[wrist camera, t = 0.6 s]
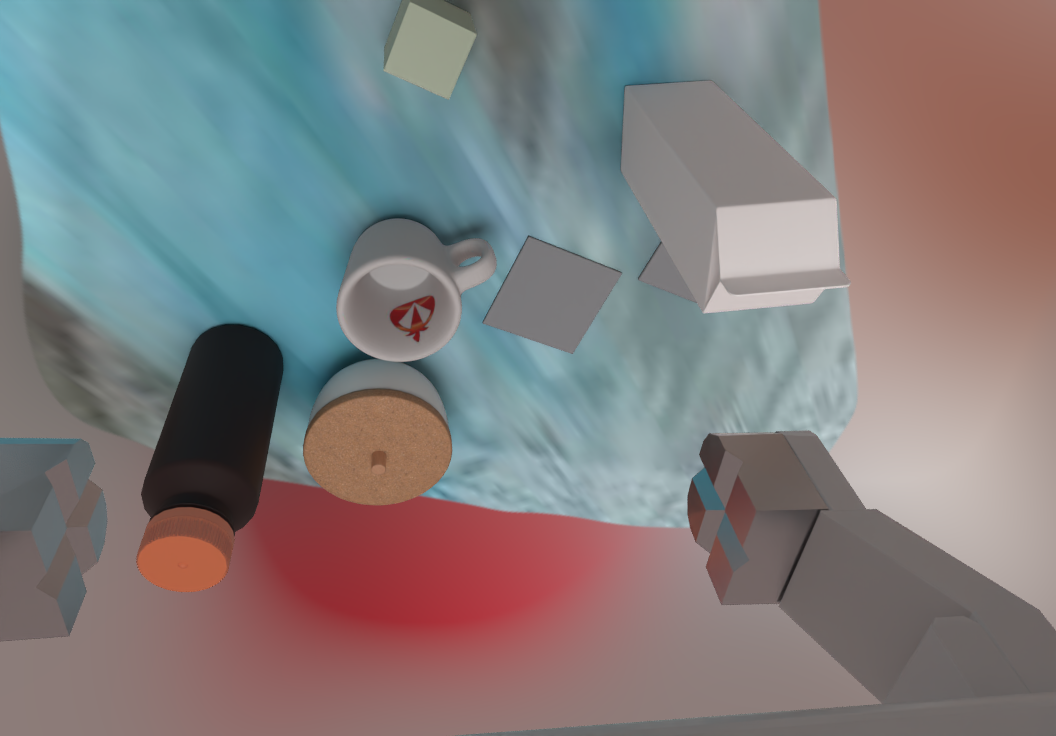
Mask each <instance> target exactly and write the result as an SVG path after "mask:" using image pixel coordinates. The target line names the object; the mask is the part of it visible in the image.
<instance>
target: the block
mask: <svg viewBox="0 0 1056 736" xmlns="http://www.w3.org/2000/svg"><path fill="white" fill-rule="evenodd" d="M476 35H477V33H476V30H475V27H474V24H473V20H472V17H471V14H470V13H468V12H466V11H464V10H462V9H460V8H458V7H456V6H454V5H452V4H450V3H448V2H446V1H444V0H402V2H401V5H400V7H399V10H398V13H397V15H396V18H395V21H394V23H393V26H392V29H391V31H390V34H389V37H388V39H387V42H386V45H385V47H384V71H385V72H387V73H390V74H392V75H394V76H396V77H399V78H401V79H403V80H405V81H408V82H410V83H412V84H414V85H417V86H419V87H421V88H423V89H426V90H428V91H430V92H432V93H435V94H437V95H439V96H441V97H444V98H446V99H448V100H449V98H450V96H451V94H452V91H453V89H454V87H455V84H456V82H457V80H458V77H459V75H460V73H461V70H462V68H463V66H464V63H465V61H466V59H467V56H468V54H469V52H470V49H471V47H472V45H473V42H474V40H475V38H476Z"/></svg>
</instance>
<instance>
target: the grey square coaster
mask: <svg viewBox="0 0 1056 736" xmlns="http://www.w3.org/2000/svg"><path fill="white" fill-rule="evenodd" d="M638 280H640V281H642V282H645V283H647V284H650V285H652V286H655V287H657V288H660V289H663V290H665V291H668V292H670V293H673V294H675V295H678V296H680V297H683V298H685V299H688V300H691V301H693V302H696V300H695V298H694V297H693V295H692V293H691V291H690V290H689V288H688V286H687V284H686V283H685V281H684V279H683V278H682V276H681V274H680V272H679V271H678V269H677V267H676V265H675V264H674V262H673V260H672V259H671V257H670V255H669V253H668V252H667V250H666V248H665V246H664V245H663V243H662V241H661V243H660V244H659V246H658V248H657V249H656V251H655V252H654V254H653V255H652V257H651V259H650V260H649V262H648V263H647V265H646V267H645V268H644V270H643V271H642V273H641V275H640V276H639V278H638ZM696 303H697V302H696Z"/></svg>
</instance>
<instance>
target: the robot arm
mask: <svg viewBox="0 0 1056 736" xmlns="http://www.w3.org/2000/svg"><path fill="white" fill-rule="evenodd" d="M699 455H700V458H701V460H702V462H703V464H704V468H703V469H702V470H701V471H700V472H699V473H697V474H696V475H695V476H694V477H693V478H692V481H691V485H690V488H689V492H688V519H689V524H690V529H691V531H692V534H693V536H694V539H695V542H696V543H697V544H699V545H700V546H701V547H703V548H704V549H705V550H706V551H708V552H709V553H710V556H709V559H708V562H707V565H706V569H707V571H708V574H709V576H710V578H711V581H712V583H713V585H714V588H715V590H716V593H717V595H718V598H719V600H720V603H721V604H722V605H738V604H739V605H740V604H779V607H780V608H781V609H782V610H783V611H784V612H785V613H786V614H787V615H788V616H789V617H790V618H792V620H794V621H795V622H796V623H797V624H798V625H799V626H800V627H801V628H802V629H803V630H804V631H805V632H806V633H807V634H809V635H810V636H811V637H812V638H813V639H814V640H815V641H816V642H817V643H818V644H819V645H820V646H821V647H822V648H823V649H825V650H826V651H827V652H828V653H829V654H830V655H831V656H832V657H833V658H834V659H835V660H836V661H837V662H838V663H840V664H841V665H842V666H843V667H844V668H845V669H846V670H847V671H848V672H849V673H850V674H851V675H852V676H853V677H854V678H856V679H857V680H858V681H859V682H860V683H861V684H862V685H863V686H864V687H865V688H866V689H867V690H868V691H869V692H871V693H872V694H873V695H874V696H875V697H876V698H877V699H878V700H879V701H880V702H881V703H882V704H876V705H863V706H849V707H835V708H822V709H809V710H796V711H795V710H794V711H781V712H768V713H754V714H740V715H726V716H715V717H714V716H713V717H700V718H686V719H673V720H659V721H647V722H634V723H619V724H606V725H592V726H579V727H565V728H552V729H539V730H526V731H511V732H497V733H484V734H471V735H456V736H1056V631H1055V629H1054V628H1053V627H1052V625H1051V624H1050V623H1049V622H1048V621H1047V619H1046V618H1045V617H1044V615H1043V614H1042V613H1041V611H1040V610H1038V609H1037V608H1035V607H1034V606H1032V605H1030V604H1029V603H1027V602H1025V601H1024V600H1022V599H1020V598H1019V597H1017V596H1015V595H1014V594H1013V593H1011V592H1009V591H1008V590H1006V589H1005V588H1003V587H1001V586H1000V585H998V584H996V583H995V582H993V581H992V580H990V579H988V578H987V577H985V576H983V575H982V574H980V573H979V572H977V571H975V570H973V569H972V568H971V567H969V566H967V565H966V564H964V563H962V562H961V561H959V560H957V559H956V558H954V557H952V556H951V555H950V554H948V553H946V552H945V551H943V550H941V549H940V548H938V547H937V546H935V545H933V544H932V543H930V542H929V541H927V540H925V539H923V538H922V537H920V536H919V535H917V534H915V533H914V532H912V531H911V530H909V529H907V528H906V527H904V526H902V525H901V524H899V523H898V522H896V521H894V520H893V519H891V518H890V517H888V516H886V515H885V514H883V513H882V512H880V511H878V510H877V509H871V510H870V509H866V508H865V506H864V505H863V504H862V502H861V500H860V499H859V498H858V496H857V495H856V493H855V492H854V490H853V489H852V487H851V486H850V484H849V483H848V481H847V480H846V478H845V477H844V475H843V474H842V472H841V471H840V469H839V468H838V466H837V465H836V463H835V462H834V460H833V459H832V457H831V456H830V454H829V453H828V451H827V450H826V448H825V447H824V445H823V444H822V442H821V441H820V439H819V438H818V436H817V435H815V434H814V433H812V432H811V431H776V432H775V433H773V432H760V433H709V434H708V436H707V437H706V438H705V440H704V441H703V444H702V447H701V451H700V454H699ZM94 465H95V461H94V458H93V455H92V452H91V449H90V446H89V443H87V442H86V441H84V440H82V439H52V438H51V439H50V438H46V439H45V438H42V439H41V438H0V641H12V640H25V639H40V638H53V637H66V636H69V635H70V633H71V631H72V628H73V625H74V623H75V620H76V617H77V615H78V613H79V610H80V607H81V605H82V602H83V600H84V597H85V594H86V587H85V584H84V581H83V578H82V574H84V573H85V572H86V571H87V570H89V569H90V568H91V567H93V566H94V565H95V564H97V563H98V560H99V558H100V555H101V552H102V549H103V546H104V542H105V535H106V528H107V509H106V502H105V498H104V494H103V490H102V489H101V488H100V487H99V486H97V485H96V484H95V483H93V482H92V481H90V480H89V476H90V474H91V472H92V469H93V467H94Z"/></svg>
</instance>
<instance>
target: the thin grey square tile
mask: <svg viewBox="0 0 1056 736" xmlns="http://www.w3.org/2000/svg"><path fill="white" fill-rule="evenodd" d="M621 274H622V272H619V271H617V270H614V269H612V268H609V267H607V266H604V265H602V264H599V263H597V262H594V261H592V260H589V259H586V258H584V257H581V256H579V255H576V254H574V253H571V252H569V251H566V250H564V249H561V248H558V247H556V246H553V245H551V244H548V243H546V242H543V241H541V240H538V239H536V238H533V237H531V236H528V238H527V239H526V241H525V243H524V245H523V247H522V249H521V251H520V253H519V255H518V256H517V258H516V260H515V262H514V264H513V266H512V268H511V270H510V271H509V273H508V275H507V277H506V279H505V281H504V283H503V285H502V287H501V288H500V290H499V292H498V294H497V296H496V298H495V300H494V302H493V304H492V305H491V307H490V309H489V311H488V313H487V315H486V317H485V319H484V321H483V324H486V325H489V326H492V327H495V328H498V329H501V330H504V331H507V332H510V333H513V334H516V335H519V336H522V337H524V338H527V339H530V340H533V341H536V342H539V343H542V344H545V345H548V346H551V347H554V348H557V349H560V350H563V351H566V352H568V353H571V354H573V352H574V351H575V349H576V348H577V346H578V344H579V343H580V341H581V339H582V338H583V336H584V335H585V333H586V331H587V330H588V328H589V326H590V325H591V323H592V322H593V320H594V318H595V317H596V315H597V313H598V312H599V310H600V309H601V307H602V305H603V304H604V302H605V300H606V299H607V297H608V296H609V294H610V292H611V291H612V289H613V287H614V286H615V284H616V283H617V281H618V279H619V278H620V276H621Z"/></svg>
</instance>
